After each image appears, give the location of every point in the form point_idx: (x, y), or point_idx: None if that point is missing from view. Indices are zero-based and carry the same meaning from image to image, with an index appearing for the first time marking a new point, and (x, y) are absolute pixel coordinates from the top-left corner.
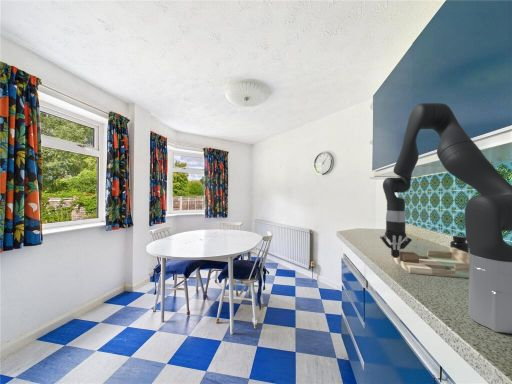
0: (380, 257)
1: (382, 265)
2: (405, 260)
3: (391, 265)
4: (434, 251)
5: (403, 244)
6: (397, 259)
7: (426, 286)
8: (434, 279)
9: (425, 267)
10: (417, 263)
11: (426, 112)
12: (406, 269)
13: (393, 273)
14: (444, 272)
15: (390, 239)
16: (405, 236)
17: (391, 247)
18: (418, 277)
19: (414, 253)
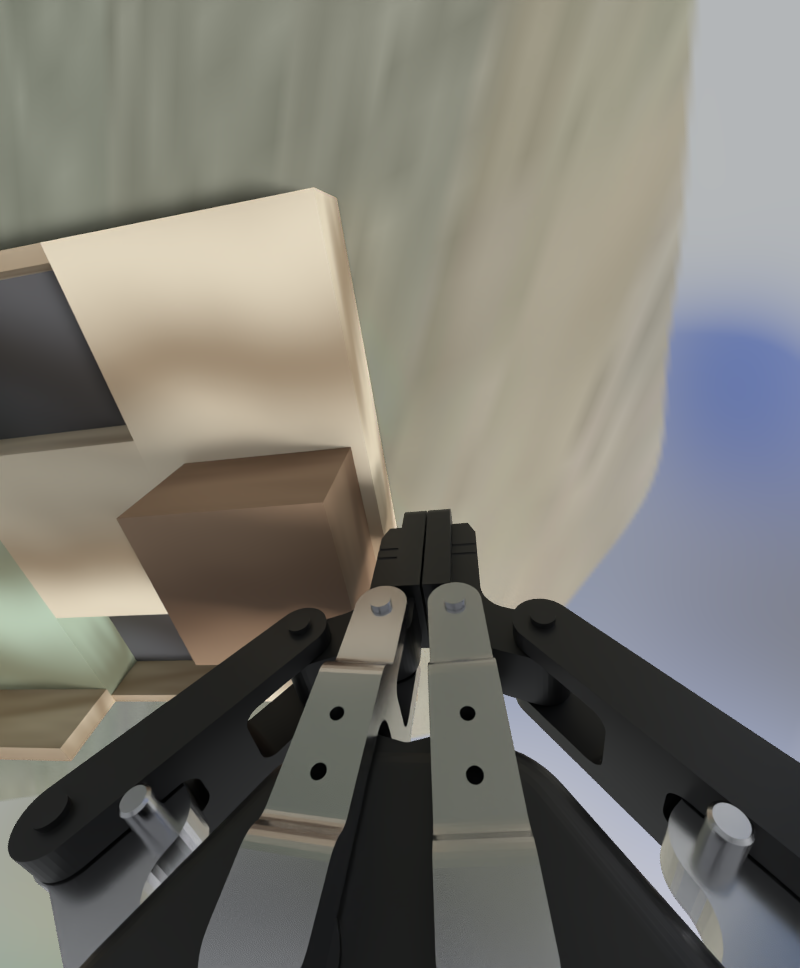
0: None
1: (596, 413)
2: (324, 458)
3: (480, 452)
4: (16, 742)
5: (263, 695)
6: None
7: None
8: (75, 41)
9: (117, 291)
10: (200, 444)
11: None
12: (353, 307)
13: (578, 62)
14: None
15: (576, 819)
16: (90, 963)
17: (501, 627)
18: (257, 27)
19: (173, 589)
